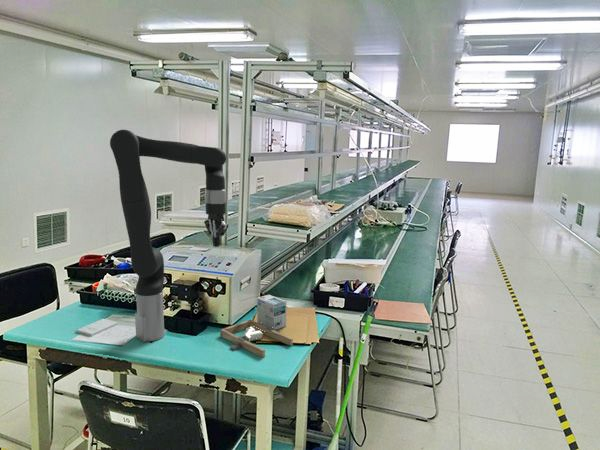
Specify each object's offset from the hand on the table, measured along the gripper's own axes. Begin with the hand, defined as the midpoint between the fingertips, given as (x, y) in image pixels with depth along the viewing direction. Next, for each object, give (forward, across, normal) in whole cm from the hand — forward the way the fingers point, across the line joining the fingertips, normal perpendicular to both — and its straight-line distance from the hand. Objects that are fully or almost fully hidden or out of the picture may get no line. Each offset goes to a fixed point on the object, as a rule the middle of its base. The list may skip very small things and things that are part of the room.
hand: (216, 246), depth 178 cm
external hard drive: (+33, -29, -35) cm, 56 cm away
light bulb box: (+32, +14, +16) cm, 39 cm away
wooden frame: (+32, +21, +2) cm, 38 cm away
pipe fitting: (+32, +20, +1) cm, 38 cm away
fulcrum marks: (+32, +21, +2) cm, 38 cm away
